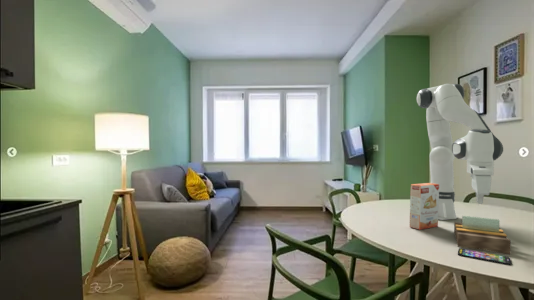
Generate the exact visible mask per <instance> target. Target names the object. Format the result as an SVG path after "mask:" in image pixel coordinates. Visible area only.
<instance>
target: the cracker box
mask: <svg viewBox="0 0 534 300" xmlns="http://www.w3.org/2000/svg"><path fill="white" fill-rule="evenodd" d="M409 192H410V194H409V195H410V200H409V202H410V203H409V227H410V228H412V229H417V230H419V231H421V230H427V229H431V228H436V227H438V226H439V219H438V206H439V184H434V183H431V182H423V183H411V184H410V191H409Z"/></svg>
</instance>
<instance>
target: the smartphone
mask: <svg viewBox="0 0 534 300" xmlns="http://www.w3.org/2000/svg"><path fill="white" fill-rule="evenodd" d="M457 255H458V256H459V257H464V258H470V259H474V260H479V261H484V262H489V263H494V264H500V265H505V266H511V265H512V262H511V257H509V256H505V255H500V254H495V253H491V252H483V251H481V250H475V249H469V248H464V247H459V248H458V250H457Z"/></svg>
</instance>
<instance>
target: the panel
mask: <svg viewBox="0 0 534 300" xmlns="http://www.w3.org/2000/svg"><path fill="white" fill-rule="evenodd" d="M461 217H462V219H461V221H462V222H461V223H462V228H463V229H472V230H480V231H488V232H497V233H499V227H500V222H501V221H500V220H499V219H498V218H488V217H478V216H470V215H469V216H467V215H462V216H461Z"/></svg>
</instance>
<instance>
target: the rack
mask: <svg viewBox="0 0 534 300" xmlns="http://www.w3.org/2000/svg"><path fill="white" fill-rule="evenodd" d="M453 225H454V227H453V230H454V231H453V233H454V238H455V240H456V244H457V247H459V248H463V249H470V250H477V251H486V252H493V253H498V254H500V253H501V254H506V255H510V254H511V239H510V238H508V235H507V234H506V233H505V232H504V229H501V227H500V226H499V233H497V232H488V231H480V230H472V229H463V228H462V222H458V221H454V223H453Z"/></svg>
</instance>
